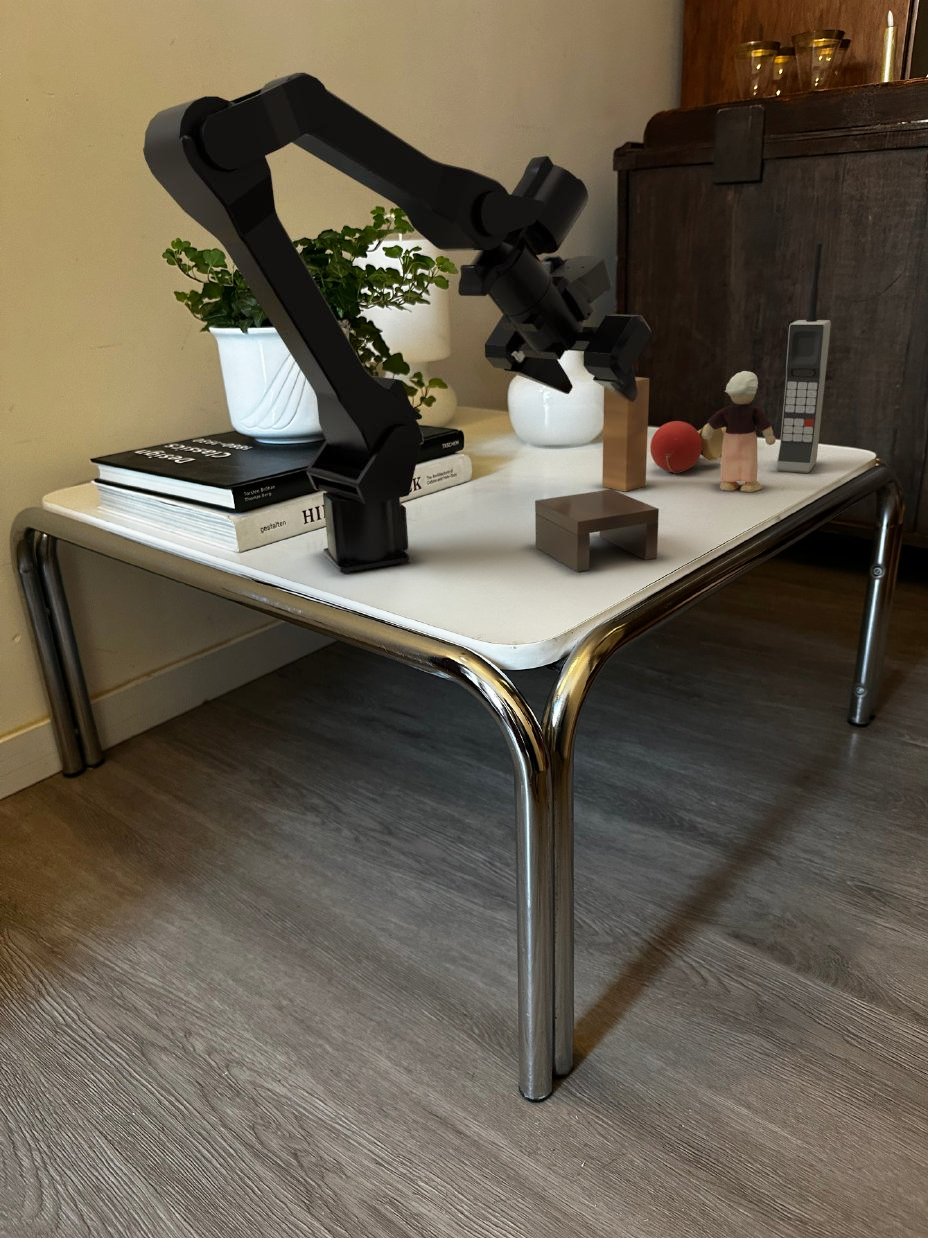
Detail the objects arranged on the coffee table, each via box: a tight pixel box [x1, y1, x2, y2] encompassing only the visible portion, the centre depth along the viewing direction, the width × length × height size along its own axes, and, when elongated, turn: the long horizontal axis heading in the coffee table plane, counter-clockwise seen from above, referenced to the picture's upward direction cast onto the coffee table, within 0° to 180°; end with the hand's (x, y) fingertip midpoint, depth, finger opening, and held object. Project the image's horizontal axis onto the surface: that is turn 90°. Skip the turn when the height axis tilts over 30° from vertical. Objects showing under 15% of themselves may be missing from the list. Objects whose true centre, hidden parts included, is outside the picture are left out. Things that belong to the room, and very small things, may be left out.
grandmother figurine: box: [702, 370, 777, 493], centre depth 101 cm, size 8×4×13 cm, turn 74°
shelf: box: [534, 488, 660, 573], centre depth 83 cm, size 8×8×4 cm
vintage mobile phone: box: [776, 242, 832, 474], centre depth 106 cm, size 4×5×25 cm
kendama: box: [649, 420, 726, 474], centre depth 115 cm, size 8×6×18 cm
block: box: [601, 376, 650, 493], centre depth 104 cm, size 4×4×12 cm
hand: (601, 394), depth 99 cm, fingers open, 9 cm apart
